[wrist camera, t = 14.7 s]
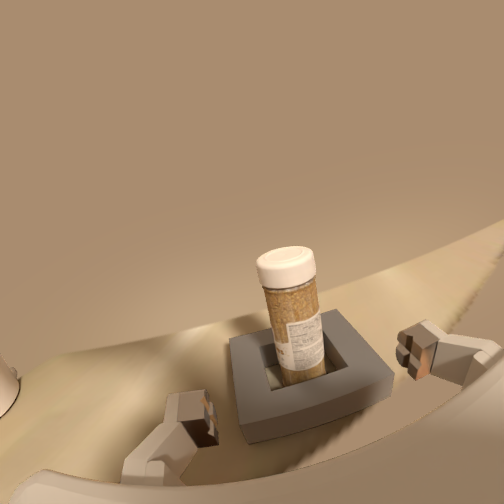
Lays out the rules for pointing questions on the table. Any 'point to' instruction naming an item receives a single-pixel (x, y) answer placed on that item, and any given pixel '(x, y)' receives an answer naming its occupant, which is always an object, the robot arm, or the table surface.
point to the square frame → (306, 382)
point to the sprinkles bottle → (293, 312)
